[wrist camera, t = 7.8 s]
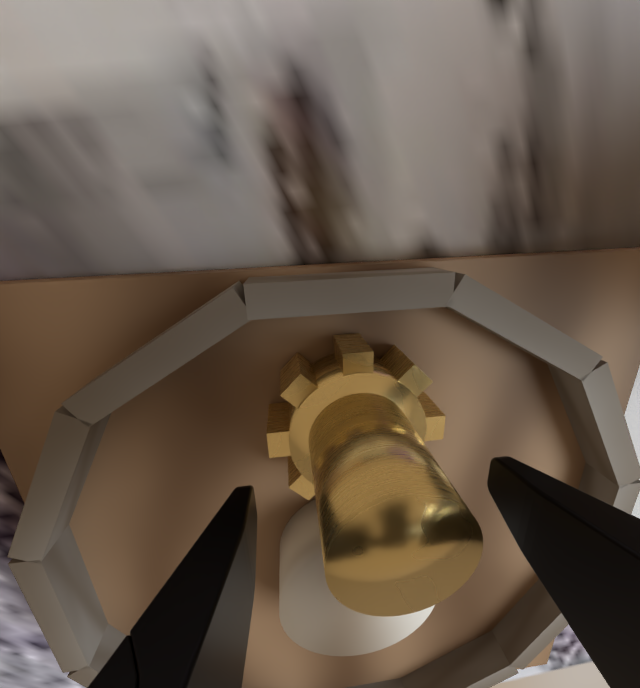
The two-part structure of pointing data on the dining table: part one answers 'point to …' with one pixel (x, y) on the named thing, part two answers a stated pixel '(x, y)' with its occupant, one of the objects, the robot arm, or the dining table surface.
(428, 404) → the gear
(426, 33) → the dining table surface
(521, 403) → the carrier
